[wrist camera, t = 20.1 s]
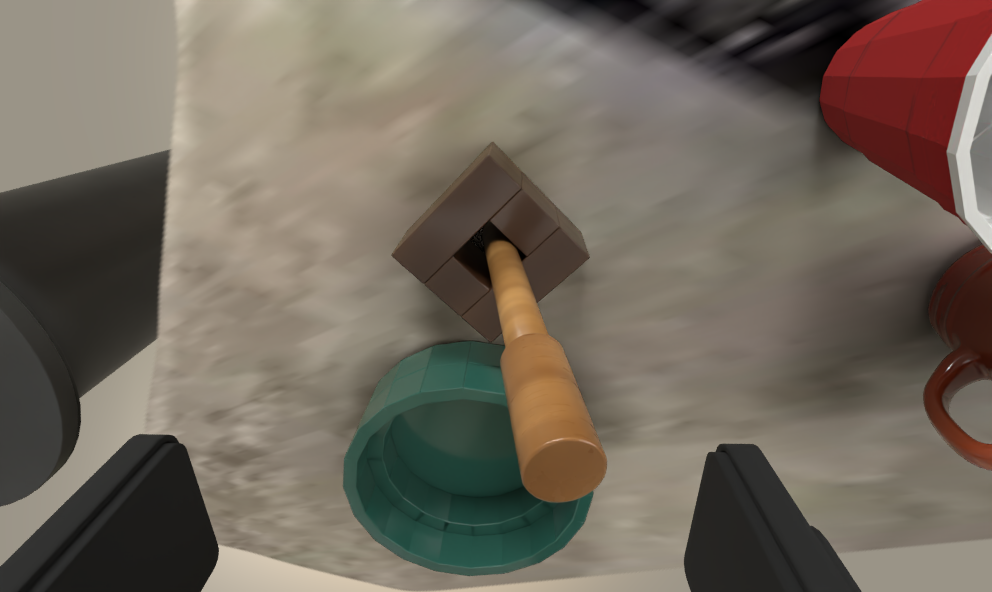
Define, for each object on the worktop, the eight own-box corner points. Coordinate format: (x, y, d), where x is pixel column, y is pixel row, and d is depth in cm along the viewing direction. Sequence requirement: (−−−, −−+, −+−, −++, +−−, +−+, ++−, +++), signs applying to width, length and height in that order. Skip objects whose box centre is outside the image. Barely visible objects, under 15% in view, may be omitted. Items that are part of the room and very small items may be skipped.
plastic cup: (998, 158, 26) (1347, 229, 15) (777, 215, 28) (944, 317, 17) (1024, -92, 22) (1538, -247, 11) (760, -6, 23) (971, -63, 12)
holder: (406, 231, 29) (390, 255, 25) (492, 141, 27) (488, 154, 23) (494, 309, 31) (490, 343, 27) (581, 232, 28) (590, 257, 25)
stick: (467, 231, 28) (502, 477, 13) (494, 203, 28) (568, 424, 12) (494, 255, 29) (561, 516, 13) (522, 229, 29) (625, 468, 13)
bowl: (326, 426, 35) (294, 486, 30) (470, 292, 30) (460, 338, 25) (477, 536, 39) (471, 605, 34) (626, 433, 34) (644, 497, 29)
